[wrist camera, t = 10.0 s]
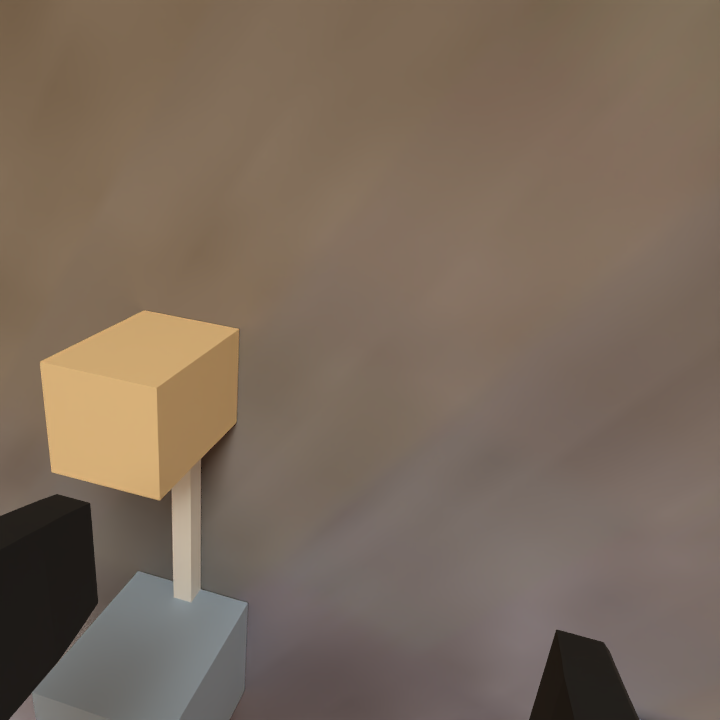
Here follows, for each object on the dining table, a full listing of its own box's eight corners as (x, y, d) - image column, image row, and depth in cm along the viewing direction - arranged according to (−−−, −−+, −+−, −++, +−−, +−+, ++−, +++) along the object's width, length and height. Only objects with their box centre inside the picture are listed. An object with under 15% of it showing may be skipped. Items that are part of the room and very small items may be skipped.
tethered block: (259, 332, 19) (157, 411, 14) (244, 690, 24) (170, 836, 19) (125, 306, 19) (-16, 371, 14) (142, 657, 25) (46, 789, 20)
